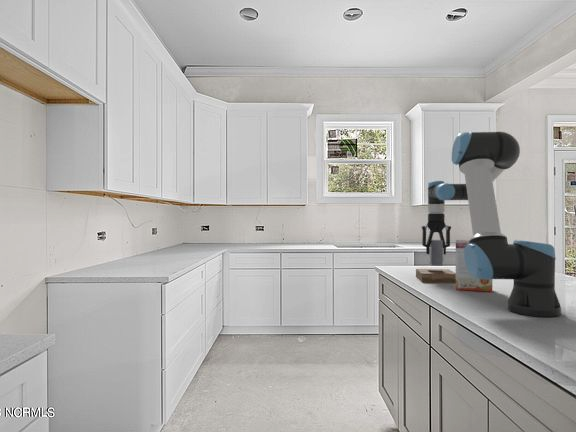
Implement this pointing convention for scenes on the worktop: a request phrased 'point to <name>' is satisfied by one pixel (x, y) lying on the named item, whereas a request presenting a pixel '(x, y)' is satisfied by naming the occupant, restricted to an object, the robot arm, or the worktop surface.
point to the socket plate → (436, 275)
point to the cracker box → (462, 274)
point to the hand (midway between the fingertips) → (435, 261)
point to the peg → (436, 252)
